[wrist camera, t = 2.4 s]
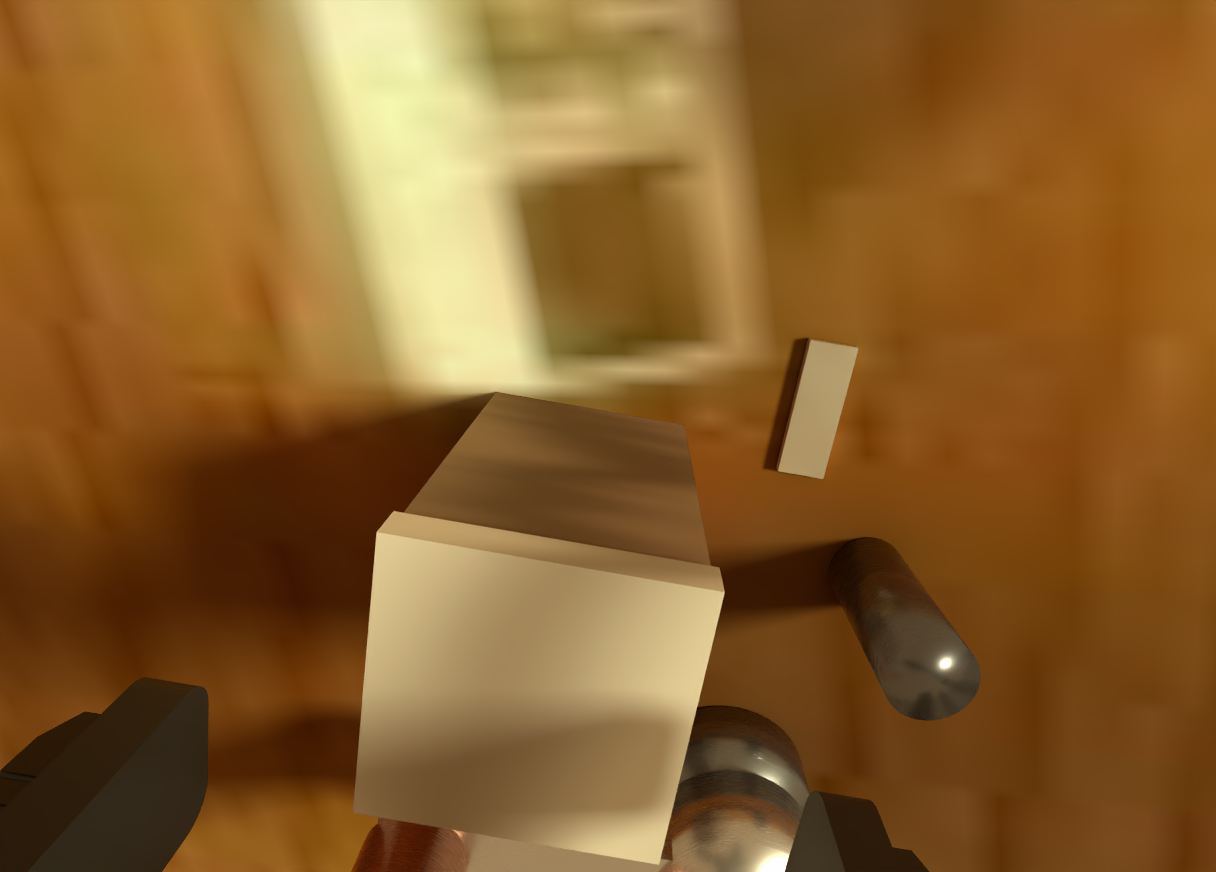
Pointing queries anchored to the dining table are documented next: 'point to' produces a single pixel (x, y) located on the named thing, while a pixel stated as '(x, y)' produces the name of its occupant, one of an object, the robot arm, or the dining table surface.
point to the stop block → (541, 633)
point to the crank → (689, 866)
